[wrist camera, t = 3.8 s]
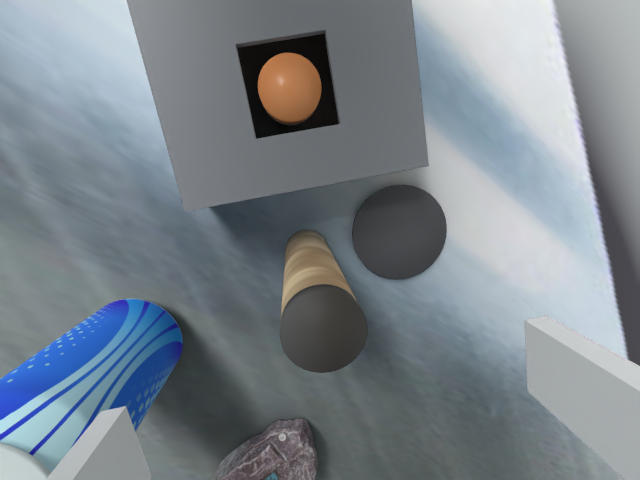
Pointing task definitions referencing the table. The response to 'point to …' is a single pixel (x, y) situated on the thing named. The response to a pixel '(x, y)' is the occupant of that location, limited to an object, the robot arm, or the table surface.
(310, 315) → the stylus
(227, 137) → the box
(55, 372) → the beer can
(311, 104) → the breaker button
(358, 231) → the pad
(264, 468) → the rock
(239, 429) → the table surface
